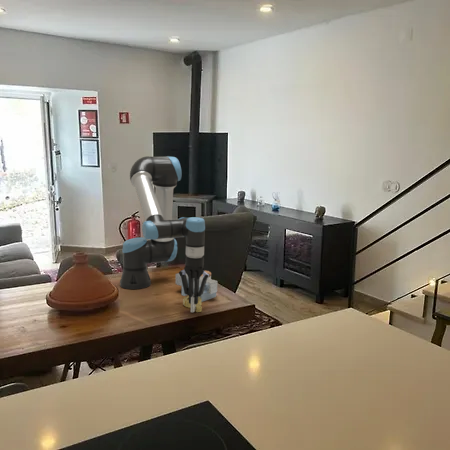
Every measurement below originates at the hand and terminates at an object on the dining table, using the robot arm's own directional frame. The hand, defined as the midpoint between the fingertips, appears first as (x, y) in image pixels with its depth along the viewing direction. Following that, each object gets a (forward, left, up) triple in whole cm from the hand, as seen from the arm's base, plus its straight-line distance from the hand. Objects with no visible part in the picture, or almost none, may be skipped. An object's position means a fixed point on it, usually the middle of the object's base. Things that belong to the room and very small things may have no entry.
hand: (193, 311), depth 182 cm
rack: (-13, +16, -2) cm, 21 cm away
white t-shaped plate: (-14, +16, +3) cm, 22 cm away
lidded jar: (-23, +27, -2) cm, 36 cm away
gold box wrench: (-4, +5, -1) cm, 7 cm away
